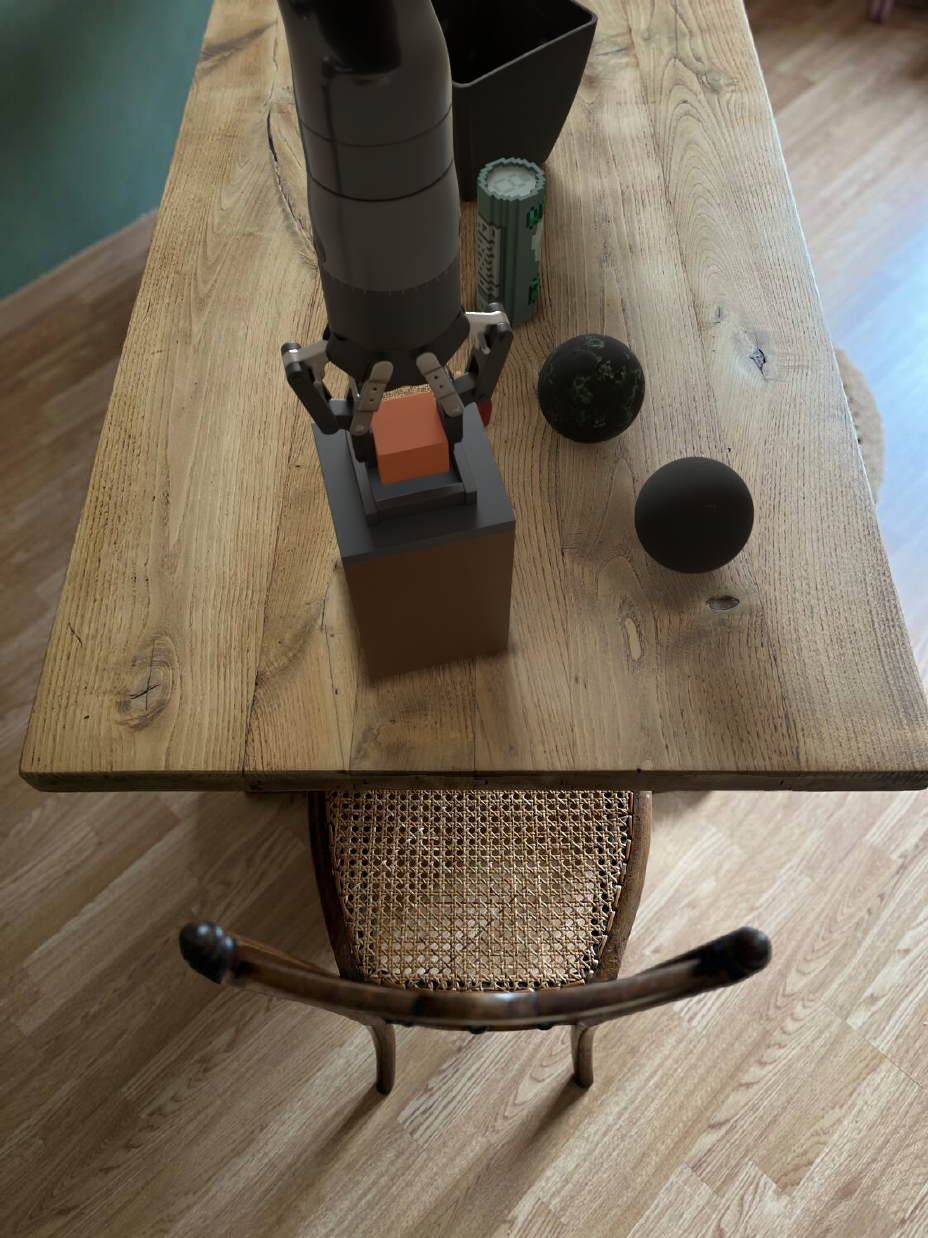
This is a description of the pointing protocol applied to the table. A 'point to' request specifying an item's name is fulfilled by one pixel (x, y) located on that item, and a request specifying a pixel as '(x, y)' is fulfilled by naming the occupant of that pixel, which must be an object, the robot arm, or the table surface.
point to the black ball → (694, 515)
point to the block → (409, 438)
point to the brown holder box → (424, 553)
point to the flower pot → (511, 77)
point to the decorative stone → (591, 388)
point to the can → (509, 236)
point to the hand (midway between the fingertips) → (408, 449)
